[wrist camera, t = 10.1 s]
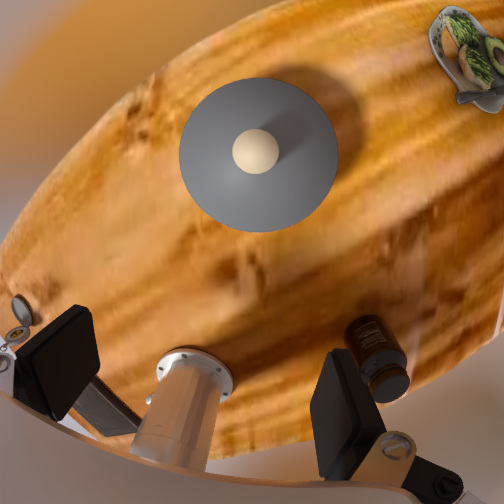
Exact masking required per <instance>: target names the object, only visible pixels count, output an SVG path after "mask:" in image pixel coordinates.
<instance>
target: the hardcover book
mask: <svg viewBox="0 0 504 504" xmlns="http://www.w3.org/2000/svg"><path fill="white" fill-rule="evenodd" d="M72 407H73V408H74V409H75V410H76V411H77V412H78V413H79V414H80V415H81V416H82V417H83V418H84V419H85V420H87V421H88V422H89V423H90V424H91V425H92V426H93V427H94V428H95V429H97V430H98V431H99V432H100V433H101V434H102V435H104V436H105V437H110V436H117V435H124V434H131V433H137V431H138V428H139V426H140V424H141V422H142V421H141V420H140V419H138V418H137V417H136V416H135V415H134V414H133V413H132V412H131V411H129V410H128V409H127V408H126V407H125V406H124V405H123V404H122V403H121V402H120V401H119V400H118V399H117V398H116V397H115V396H114V395H113V394H112V393H111V392H110V391H109V390H108V389H107V388H106V387H105V386H104V385H103V384H102V383H101V382H100V381H99V380H98V379H97V378H96V377H95V376H94V378H93V379H92V380H91V382H90V383H89V384H88V386H87V387H86V388H85V390H84V391H83V392H82V394H81V395H80V396H79V398H78V399H77V400H76V402H75V403H74V404H73V406H72Z"/></svg>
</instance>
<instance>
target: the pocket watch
mask: <svg viewBox="0 0 504 504" xmlns="http://www.w3.org/2000/svg"><path fill="white" fill-rule="evenodd" d="M11 307H12V311H13V313H14V315H15V317H16V319H17V320H18V321H19V322H20V324H22V325H23V326H20V327H17V328H14V329H12V330H11V331H9V332H8V334H7V335H6V337H5V342H6V344H4V345H2V346H1V347H3V348H6V350H7V345H9V346H15V345H19V344H21V343H23V342H24V341H25V340H27V339H28V338H29V336H30V329H29V326H30V325H31V323H32V316H31V313H30V310H29V309H28V307H27V305H26V304H25V302H24V301H23V300H22V299H20V298H18V297H15V298H13V299H12V301H11ZM1 347H0V350H1ZM6 350H4V351H2V350H1V351H2V352H5V351H6Z"/></svg>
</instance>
